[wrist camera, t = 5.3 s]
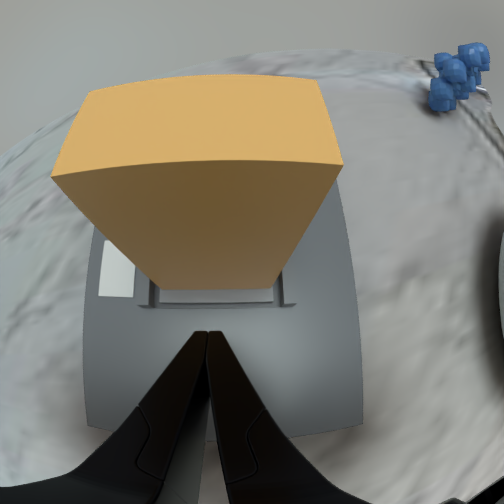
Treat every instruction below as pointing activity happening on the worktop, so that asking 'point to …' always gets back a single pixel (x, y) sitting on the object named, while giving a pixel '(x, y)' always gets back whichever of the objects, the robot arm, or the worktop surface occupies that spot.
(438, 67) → the grapes
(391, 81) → the worktop surface
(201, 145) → the switch tab
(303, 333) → the switch housing
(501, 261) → the serving bowl
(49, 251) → the worktop surface
